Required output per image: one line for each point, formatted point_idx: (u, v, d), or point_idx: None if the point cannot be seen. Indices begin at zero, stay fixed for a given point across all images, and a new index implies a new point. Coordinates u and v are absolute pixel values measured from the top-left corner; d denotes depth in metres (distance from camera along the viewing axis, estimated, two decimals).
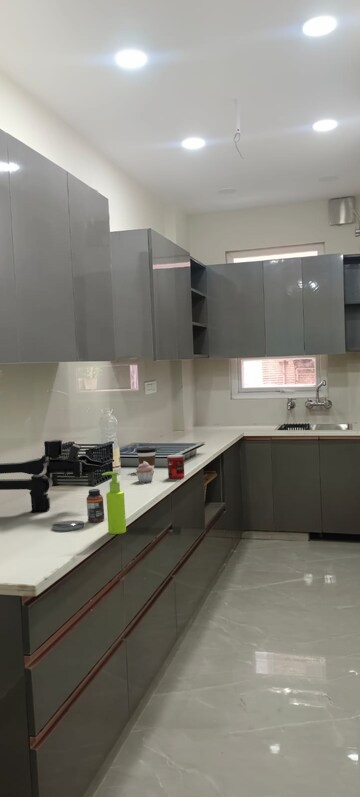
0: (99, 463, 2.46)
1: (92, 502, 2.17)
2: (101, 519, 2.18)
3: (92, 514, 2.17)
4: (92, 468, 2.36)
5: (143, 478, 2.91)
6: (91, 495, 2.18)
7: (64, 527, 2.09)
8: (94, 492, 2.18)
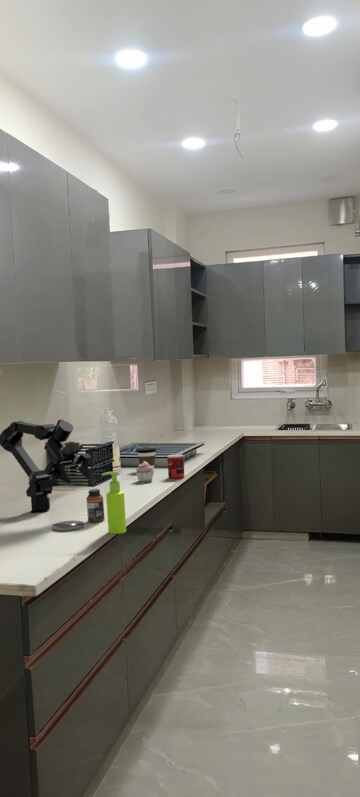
0: (87, 475, 2.29)
1: (92, 502, 2.17)
2: (101, 519, 2.18)
3: (92, 514, 2.17)
4: (63, 477, 2.22)
5: (143, 478, 2.91)
6: (91, 495, 2.18)
7: (64, 527, 2.09)
8: (94, 492, 2.18)
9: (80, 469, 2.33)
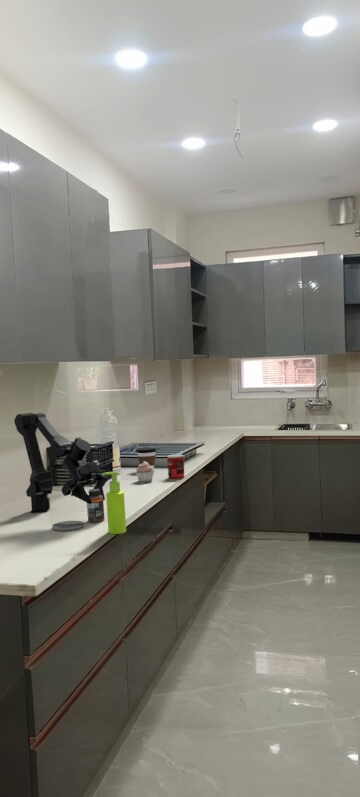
0: None
1: (92, 502, 2.17)
2: (101, 519, 2.18)
3: (92, 514, 2.17)
4: (83, 497, 2.17)
5: (143, 478, 2.91)
6: (91, 495, 2.18)
7: (64, 527, 2.09)
8: (94, 492, 2.18)
9: None
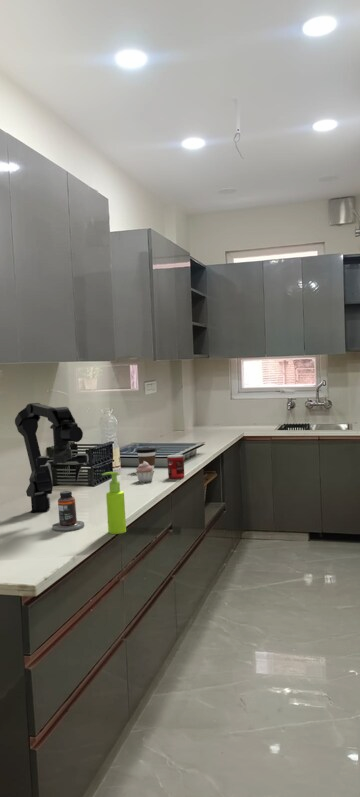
0: None
1: (61, 505, 2.10)
2: (70, 522, 2.10)
3: (61, 516, 2.11)
4: None
5: (143, 478, 2.91)
6: (61, 497, 2.11)
7: (64, 527, 2.09)
8: (64, 494, 2.11)
9: None
